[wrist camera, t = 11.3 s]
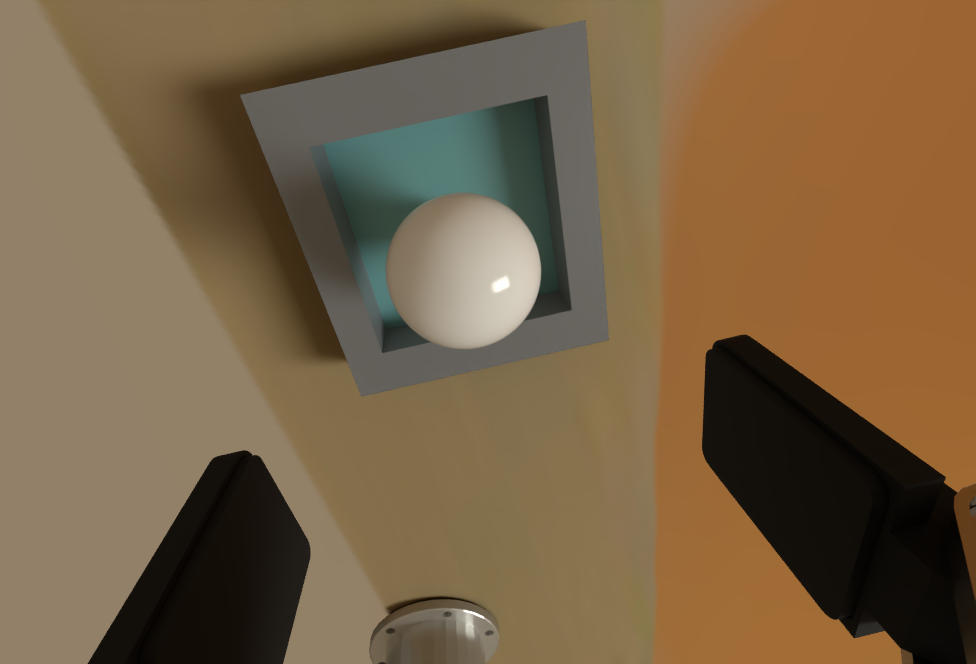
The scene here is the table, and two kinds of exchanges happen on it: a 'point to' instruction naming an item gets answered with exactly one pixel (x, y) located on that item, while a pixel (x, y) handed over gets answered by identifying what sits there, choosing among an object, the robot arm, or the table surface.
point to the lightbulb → (463, 270)
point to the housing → (442, 188)
